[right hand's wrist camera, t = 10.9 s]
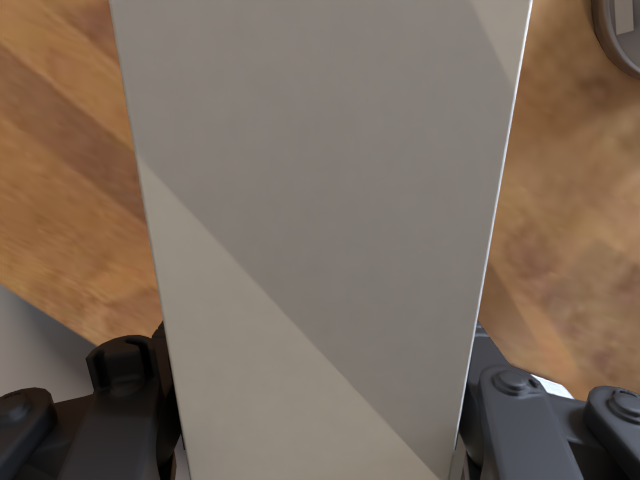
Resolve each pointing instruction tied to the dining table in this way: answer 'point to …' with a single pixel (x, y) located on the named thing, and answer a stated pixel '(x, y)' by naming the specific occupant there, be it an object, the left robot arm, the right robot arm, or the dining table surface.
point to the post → (320, 220)
